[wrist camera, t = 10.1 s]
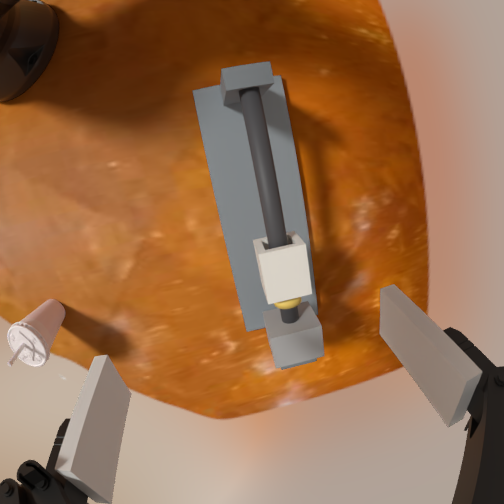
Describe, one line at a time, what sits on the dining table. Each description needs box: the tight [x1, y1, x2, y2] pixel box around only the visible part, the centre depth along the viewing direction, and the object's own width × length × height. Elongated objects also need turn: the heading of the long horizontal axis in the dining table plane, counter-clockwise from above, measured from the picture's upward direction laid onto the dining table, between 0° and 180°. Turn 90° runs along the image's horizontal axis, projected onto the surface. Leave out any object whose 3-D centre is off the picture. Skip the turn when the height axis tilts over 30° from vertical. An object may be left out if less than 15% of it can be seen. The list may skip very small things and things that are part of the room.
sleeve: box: [253, 231, 312, 304], centre depth 30 cm, size 5×4×4 cm
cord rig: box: [193, 61, 324, 370], centre depth 31 cm, size 31×10×12 cm, turn 11°
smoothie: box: [7, 299, 65, 367], centre depth 31 cm, size 6×6×14 cm
